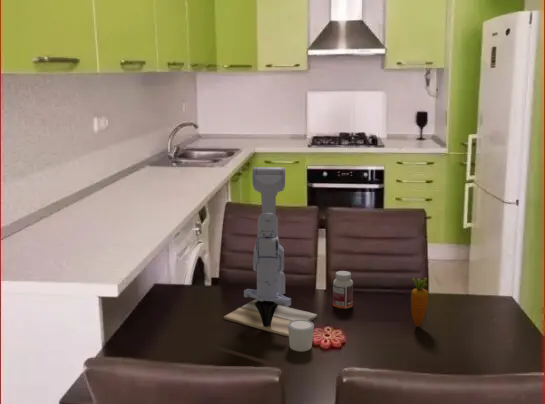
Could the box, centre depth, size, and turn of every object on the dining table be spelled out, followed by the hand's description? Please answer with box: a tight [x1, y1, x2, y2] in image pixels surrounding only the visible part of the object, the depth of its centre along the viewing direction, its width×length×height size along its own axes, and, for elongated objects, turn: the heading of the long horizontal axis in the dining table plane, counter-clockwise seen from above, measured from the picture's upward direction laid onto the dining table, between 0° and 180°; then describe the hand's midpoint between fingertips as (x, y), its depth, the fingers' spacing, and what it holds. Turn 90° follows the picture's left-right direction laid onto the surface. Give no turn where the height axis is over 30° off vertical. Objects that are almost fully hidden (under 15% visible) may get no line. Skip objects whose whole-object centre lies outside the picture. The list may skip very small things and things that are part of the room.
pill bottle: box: [332, 270, 354, 309], centre depth 189 cm, size 6×6×11 cm
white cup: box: [288, 320, 315, 352], centre depth 160 cm, size 7×7×7 cm
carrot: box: [410, 277, 429, 328], centre depth 174 cm, size 5×5×15 cm
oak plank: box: [223, 307, 291, 337], centre depth 176 cm, size 8×22×2 cm, turn 57°
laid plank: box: [240, 298, 318, 322], centre depth 183 cm, size 8×22×2 cm, turn 57°
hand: (266, 325), depth 172 cm, fingers closed, pressing on oak plank
